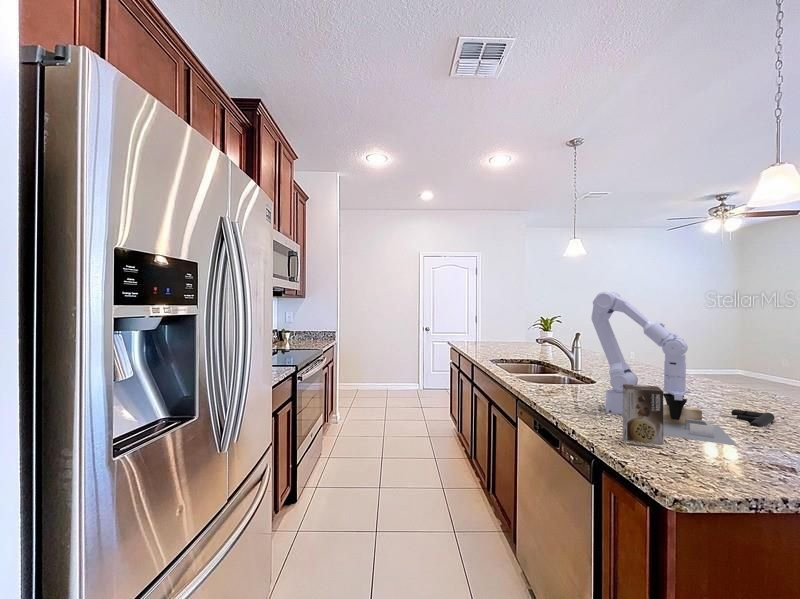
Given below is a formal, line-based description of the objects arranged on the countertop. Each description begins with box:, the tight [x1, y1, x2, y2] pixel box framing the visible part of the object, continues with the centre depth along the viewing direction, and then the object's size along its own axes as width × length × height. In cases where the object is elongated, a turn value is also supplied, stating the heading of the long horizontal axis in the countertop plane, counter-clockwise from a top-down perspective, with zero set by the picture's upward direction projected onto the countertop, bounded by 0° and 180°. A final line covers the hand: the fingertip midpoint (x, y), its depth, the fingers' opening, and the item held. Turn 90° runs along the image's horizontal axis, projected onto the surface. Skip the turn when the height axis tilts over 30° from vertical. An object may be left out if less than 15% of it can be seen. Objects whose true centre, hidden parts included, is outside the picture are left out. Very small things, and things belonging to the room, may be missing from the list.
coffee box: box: [622, 384, 665, 450], centre depth 113 cm, size 9×6×16 cm
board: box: [663, 422, 739, 447], centre depth 122 cm, size 20×20×2 cm
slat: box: [663, 404, 703, 425], centre depth 129 cm, size 14×3×5 cm, turn 64°
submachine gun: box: [718, 408, 778, 429], centre depth 136 cm, size 3×20×16 cm
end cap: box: [685, 418, 714, 438], centre depth 119 cm, size 6×6×3 cm
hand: (674, 417), depth 129 cm, fingers closed on slat, 3 cm apart
